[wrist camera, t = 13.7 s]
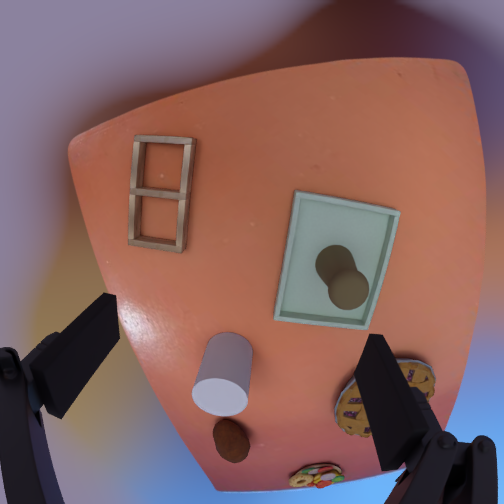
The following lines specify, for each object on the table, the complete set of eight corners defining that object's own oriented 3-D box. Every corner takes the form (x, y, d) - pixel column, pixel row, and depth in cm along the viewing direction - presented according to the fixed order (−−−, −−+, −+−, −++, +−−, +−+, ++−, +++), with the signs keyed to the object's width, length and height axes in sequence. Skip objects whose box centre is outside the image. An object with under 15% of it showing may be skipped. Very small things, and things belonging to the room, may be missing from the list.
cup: (201, 359, 52) (186, 405, 41) (214, 325, 50) (199, 370, 38) (243, 374, 53) (237, 421, 41) (259, 341, 50) (255, 389, 39)
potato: (240, 412, 56) (236, 441, 48) (258, 442, 59) (256, 469, 52) (207, 417, 57) (200, 445, 50) (228, 446, 60) (224, 472, 53)
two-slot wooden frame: (141, 135, 41) (134, 134, 38) (196, 138, 41) (192, 137, 38) (134, 240, 46) (127, 245, 44) (186, 248, 46) (181, 253, 43)
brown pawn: (315, 284, 46) (326, 320, 35) (314, 246, 44) (327, 273, 33) (353, 280, 45) (374, 315, 35) (353, 243, 43) (377, 269, 33)
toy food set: (282, 475, 64) (282, 485, 61) (317, 456, 60) (318, 465, 57) (317, 486, 66) (317, 494, 63) (351, 467, 62) (353, 476, 59)
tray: (294, 189, 42) (296, 191, 40) (394, 208, 42) (400, 211, 39) (273, 311, 48) (273, 320, 46) (363, 322, 48) (367, 330, 45)
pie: (338, 355, 50) (343, 373, 45) (441, 343, 49) (452, 357, 44) (326, 430, 57) (328, 446, 52) (414, 417, 55) (420, 431, 50)
